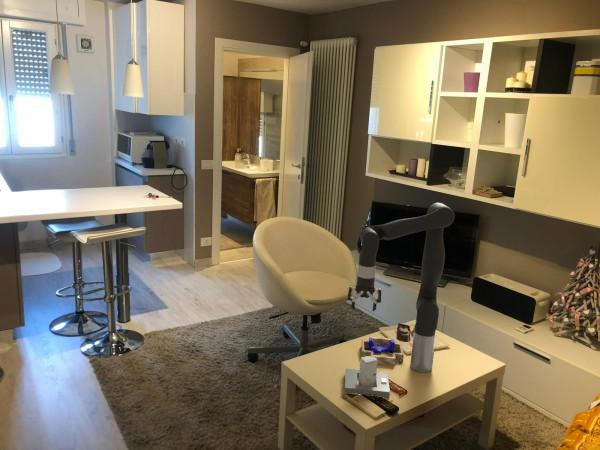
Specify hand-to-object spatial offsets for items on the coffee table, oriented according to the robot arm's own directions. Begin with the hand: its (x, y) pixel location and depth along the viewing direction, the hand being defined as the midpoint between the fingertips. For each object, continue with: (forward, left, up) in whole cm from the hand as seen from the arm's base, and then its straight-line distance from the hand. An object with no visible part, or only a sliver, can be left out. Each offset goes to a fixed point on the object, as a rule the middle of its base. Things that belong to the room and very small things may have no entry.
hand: (363, 310), depth 216 cm
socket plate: (-3, +14, -28) cm, 32 cm away
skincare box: (-3, +14, -28) cm, 31 cm away
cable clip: (-11, -17, -28) cm, 35 cm away
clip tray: (-11, -15, -28) cm, 34 cm away
